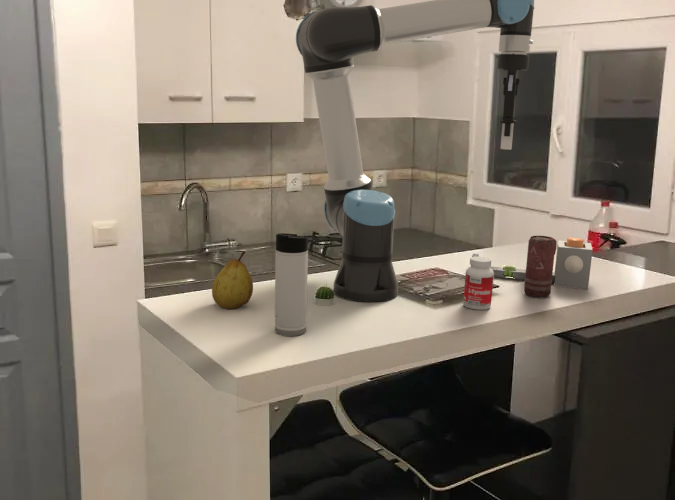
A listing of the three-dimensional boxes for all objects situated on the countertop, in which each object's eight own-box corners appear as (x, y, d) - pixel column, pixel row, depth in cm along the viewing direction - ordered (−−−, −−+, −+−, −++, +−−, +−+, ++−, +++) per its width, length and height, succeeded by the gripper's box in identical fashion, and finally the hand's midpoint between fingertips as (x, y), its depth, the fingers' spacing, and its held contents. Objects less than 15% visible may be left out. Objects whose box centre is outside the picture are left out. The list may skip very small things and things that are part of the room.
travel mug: (267, 332, 144) (267, 233, 139) (287, 323, 149) (289, 227, 144) (292, 339, 140) (294, 238, 136) (312, 330, 146) (314, 232, 141)
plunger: (564, 265, 183) (567, 240, 181) (564, 262, 186) (566, 237, 185) (581, 267, 182) (584, 241, 180) (580, 263, 185) (583, 238, 184)
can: (552, 299, 171) (558, 241, 168) (524, 297, 172) (529, 239, 169) (550, 292, 177) (556, 235, 173) (523, 290, 178) (528, 234, 175)
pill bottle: (464, 309, 161) (467, 261, 159) (462, 301, 167) (465, 254, 165) (492, 311, 161) (496, 263, 158) (489, 303, 167) (493, 256, 164)
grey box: (554, 286, 182) (558, 247, 180) (554, 277, 190) (557, 240, 187) (588, 289, 180) (592, 250, 178) (586, 280, 188) (590, 243, 185)
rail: (470, 274, 190) (471, 256, 189) (471, 272, 193) (473, 253, 192) (554, 283, 185) (556, 264, 184) (554, 280, 188) (556, 261, 186)
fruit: (207, 310, 156) (206, 256, 153) (219, 298, 164) (219, 246, 161) (246, 313, 154) (246, 258, 152) (257, 301, 163) (257, 248, 160)
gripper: (528, 53, 174) (520, 152, 180) (530, 55, 187) (521, 147, 192) (496, 52, 176) (489, 150, 182) (500, 54, 188) (492, 146, 194)
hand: (505, 149), depth 187 cm, fingers closed
